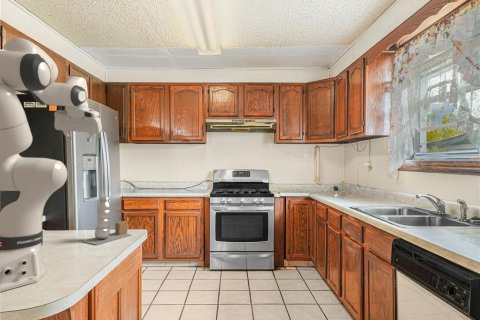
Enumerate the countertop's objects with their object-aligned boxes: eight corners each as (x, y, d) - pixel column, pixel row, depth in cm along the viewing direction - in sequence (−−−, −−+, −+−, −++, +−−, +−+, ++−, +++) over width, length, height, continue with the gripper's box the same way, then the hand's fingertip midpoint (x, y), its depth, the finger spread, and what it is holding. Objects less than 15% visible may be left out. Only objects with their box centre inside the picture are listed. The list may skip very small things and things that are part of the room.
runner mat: (96, 245, 126) (96, 230, 126) (81, 242, 130) (82, 228, 130) (132, 235, 144) (132, 222, 144) (118, 232, 149) (118, 220, 149)
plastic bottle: (111, 237, 137) (115, 196, 139) (103, 240, 130) (107, 197, 132) (99, 237, 138) (103, 196, 140) (90, 239, 131) (95, 196, 133)
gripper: (50, 110, 127) (52, 140, 130) (97, 114, 129) (98, 143, 132) (58, 109, 133) (59, 137, 136) (102, 113, 135) (103, 141, 138)
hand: (79, 140), depth 134 cm, fingers open, 8 cm apart
